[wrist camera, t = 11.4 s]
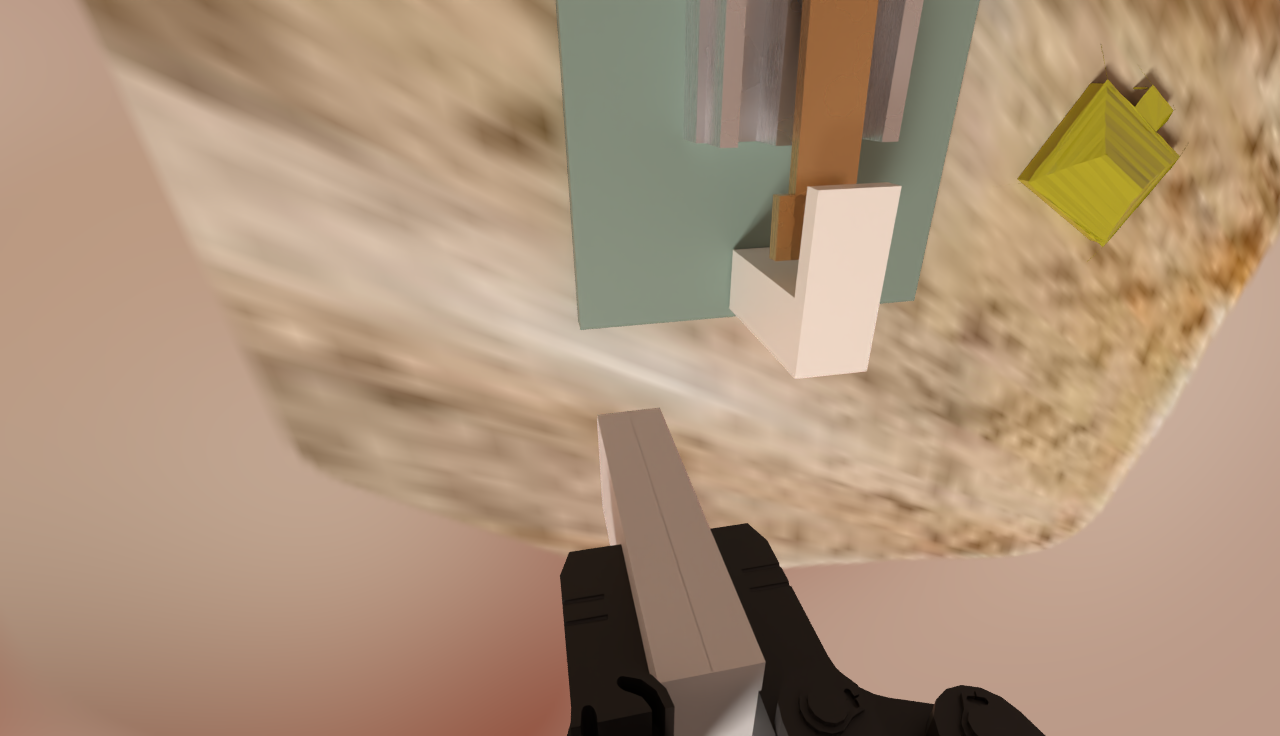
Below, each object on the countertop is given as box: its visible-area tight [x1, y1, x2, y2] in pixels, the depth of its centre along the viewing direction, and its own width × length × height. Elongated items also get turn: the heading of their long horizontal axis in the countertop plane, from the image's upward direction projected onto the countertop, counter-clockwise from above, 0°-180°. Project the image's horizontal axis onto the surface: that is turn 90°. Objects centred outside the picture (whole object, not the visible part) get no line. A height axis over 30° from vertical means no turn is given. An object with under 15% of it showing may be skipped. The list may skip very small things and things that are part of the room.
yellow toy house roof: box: [1018, 46, 1188, 260], centre depth 29 cm, size 10×9×3 cm
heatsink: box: [683, 0, 924, 148], centre depth 21 cm, size 8×8×4 cm
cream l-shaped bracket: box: [729, 182, 902, 379], centre depth 24 cm, size 7×3×8 cm, turn 1°
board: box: [556, 0, 980, 330], centre depth 21 cm, size 25×18×7 cm
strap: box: [769, 0, 878, 261], centre depth 19 cm, size 16×4×1 cm, turn 1°
